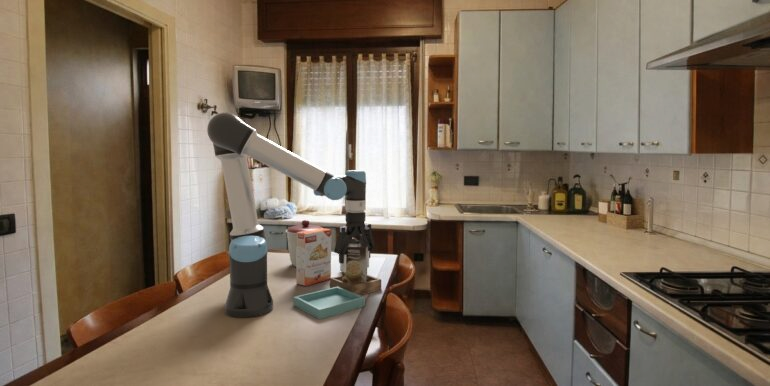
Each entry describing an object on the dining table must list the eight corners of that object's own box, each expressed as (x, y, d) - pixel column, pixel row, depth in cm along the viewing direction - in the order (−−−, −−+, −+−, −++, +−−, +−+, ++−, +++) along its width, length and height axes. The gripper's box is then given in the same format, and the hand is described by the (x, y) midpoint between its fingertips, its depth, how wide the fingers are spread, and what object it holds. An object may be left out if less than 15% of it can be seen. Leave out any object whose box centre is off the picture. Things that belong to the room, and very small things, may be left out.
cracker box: (305, 287, 166) (305, 233, 164) (295, 284, 170) (295, 231, 168) (332, 279, 177) (331, 229, 175) (322, 276, 180) (321, 227, 179)
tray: (319, 319, 134) (319, 309, 133) (293, 305, 145) (293, 296, 145) (364, 306, 145) (364, 297, 145) (337, 294, 157) (337, 286, 157)
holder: (351, 297, 154) (351, 286, 154) (329, 288, 165) (329, 278, 164) (381, 289, 163) (381, 279, 163) (358, 281, 174) (358, 271, 173)
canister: (282, 262, 203) (281, 218, 201) (319, 258, 211) (319, 216, 209) (290, 272, 187) (290, 224, 185) (330, 267, 194) (330, 221, 193)
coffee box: (341, 288, 161) (341, 246, 160) (344, 283, 167) (344, 243, 166) (365, 289, 160) (365, 247, 159) (367, 284, 167) (368, 243, 165)
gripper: (336, 214, 151) (335, 276, 153) (384, 210, 166) (383, 266, 168) (324, 212, 157) (324, 271, 159) (372, 208, 172) (371, 262, 174)
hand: (354, 269), depth 163 cm, fingers closed on coffee box, 10 cm apart
